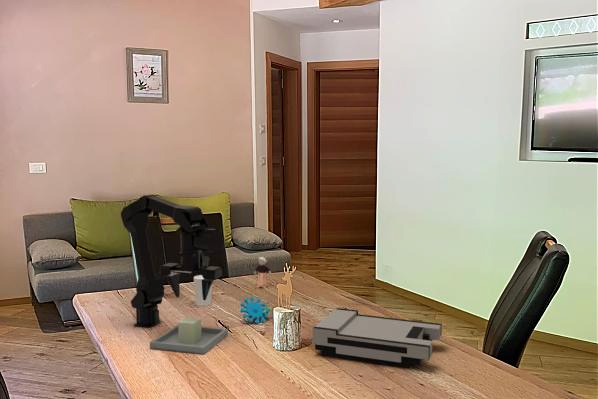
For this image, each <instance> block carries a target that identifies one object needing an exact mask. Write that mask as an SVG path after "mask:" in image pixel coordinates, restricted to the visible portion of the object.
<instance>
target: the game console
mask: <svg viewBox="0 0 598 399" xmlns="http://www.w3.org/2000/svg"><path fill="white" fill-rule="evenodd" d="M442 326H443V325H442V323H438V322H432V321H431V322H430V321H429V322H428V321H421V320H411V319H401V318H395V317H386V316H385V317H384V316H375V315H370V314H369V315H367V314H359V310H357V309H351V308H350V309H348V308H341V307H337V308H335V309H334V310H332V312H330V313H329V314H328V315H327V316H326V317H324V318H323V319H322V320H320V321H319V322H318V323H317V324H316V325H314V326H313V327H312V345H314V350H315V351H320V354H321V357H326V358H327V357H328V358H334V359H341V360H348V361H354V362H362V363H369V364H374V365H375V364H376V365H383V366H389V367H396V368H403V369H411V368H412V366H413V364H414V365H420V364H421V363H422V361H423V360H426V361H429V360H430V358H431V356H432V354H433V341H438V342H439V341H440V339H441V337H442Z"/></svg>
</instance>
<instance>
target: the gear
mask: <svg viewBox="0 0 598 399" xmlns="http://www.w3.org/2000/svg"><path fill="white" fill-rule="evenodd" d="M249 299H250V302H249ZM261 301H262V300H261V298H260V297H258V298H257V299H256V301H255V296H250V298H249V297H246V298H244V300H243V301H242V302H241V303H240V306H241V308H240V310H239V311H240V313H243V315H242V318H243V319H246V318H248V320H247V321H248V323H249V324H251V323H252V322H253V320H254V319H256V320H255V321H254V324H255V325H258V324H259V323H260V322H261V323H265V322H266V319H267V318H268V317H269V316H270V315H269V312H271V310H272V307H271V306H269V307H266V306H267V304H266V302H265V301H263V302H262V303H260V302H261ZM259 318H260V319H261V320H260V319H259Z"/></svg>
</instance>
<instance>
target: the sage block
mask: <svg viewBox="0 0 598 399" xmlns="http://www.w3.org/2000/svg"><path fill="white" fill-rule="evenodd" d="M177 325H178V335H179V342H182V343H192V344H194V343H196V342H197V341H198V340H200V339H201V338H202V332H201V327H202V318H197V317H196V318H195V317H185V318H183V319H182V320H180V321H178V322H177Z"/></svg>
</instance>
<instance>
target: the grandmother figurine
mask: <svg viewBox="0 0 598 399" xmlns="http://www.w3.org/2000/svg"><path fill="white" fill-rule="evenodd" d="M266 263H268V262H267V259H266V258H265V257H264V256H259V257H258V264H259V265H258V266H256V268H255V269H254V272H253V274H254V275H257V285H256V286H255V289H257V288H259V289H260V288H261V289H266V288H267V282H268V281H267V279H268V278H267V273H268V275H269V276H271V275H272V272H271V268H269V266H267V265H265V264H266Z"/></svg>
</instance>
